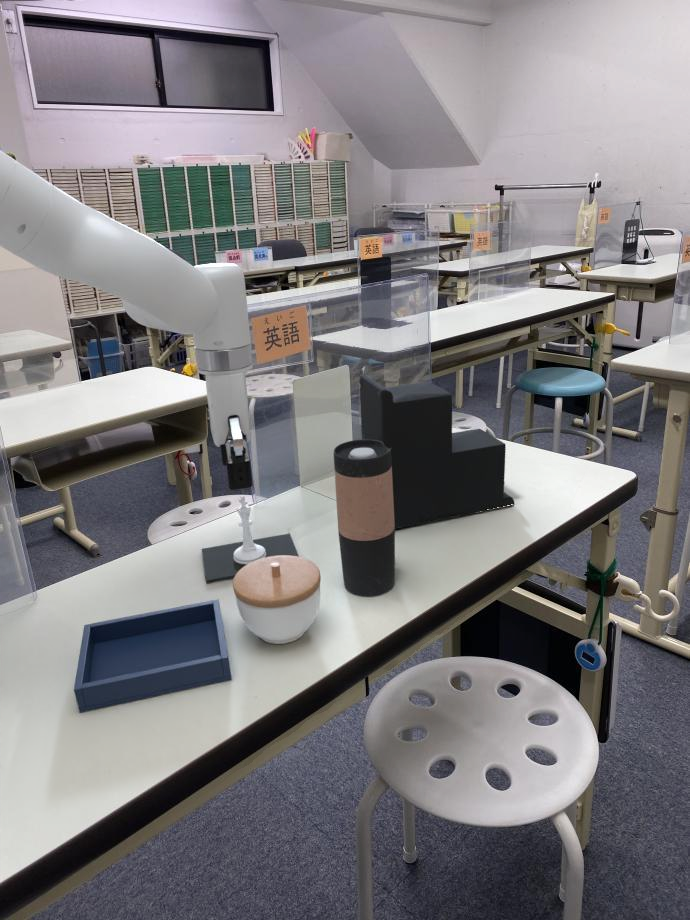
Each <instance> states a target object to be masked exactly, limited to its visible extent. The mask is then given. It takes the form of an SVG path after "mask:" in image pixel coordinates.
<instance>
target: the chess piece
mask: <svg viewBox="0 0 690 920" xmlns="http://www.w3.org/2000/svg"><path fill="white" fill-rule="evenodd" d="M238 503H240V505H239V506H238V507H237V509H236V511H237V513H238V515H239V517H240V519H241V520H239V522H238V526H239V527H241V528H242V542H243V545H242V546H241V547H239V548H238V549H236V550H235V552H234V560H235V561H236V562H237V563H240V564H249V563H251V562H253V561H256V560H259V559H262V558H265V556H266V552H265V548H264V547H262V546H260V545H256V544H254V542H253V540H254V539H253V535H252V532H251V527H250V526H252V525H253V524H254V522H253V519H251V518H250V513H251V511H252V508H251V506H250V505H248V500H247V499H245V495H240V497H239V498H238Z"/></svg>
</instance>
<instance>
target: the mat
mask: <svg viewBox="0 0 690 920" xmlns="http://www.w3.org/2000/svg"><path fill="white" fill-rule="evenodd" d="M253 542H254V544H256V545H260V546H262V547H264V548H265V552H266V556H265V557H270V556H278V555H291V556H298V557H300V556H299V553H298V550H297V549H296V546H295V543H294V541H293V539H292V536H291V534H290V533H283V534H278V535H272V536H267V537H261V538H255V539H253ZM242 545H243V541H238V542H233V543H232V542H231V543H227V544H226V543H225V544H221V545H216V546H210V547H204V548H203V547H202V548H201V556H202V561H203V569H204V576H205V582H206V584H210V583H217V582H222V581H226V580H228V581H229V580H233V579H234V577H235V575H236V574H237V572H238V571H239V570H240V569H242V568H243V567H244V566H246V565H247V564H240V563H237V562H236V561H235V560H234V552H235V550H236V549H238V548H239V547H241V546H242Z"/></svg>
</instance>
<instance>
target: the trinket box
mask: <svg viewBox="0 0 690 920" xmlns="http://www.w3.org/2000/svg"><path fill="white" fill-rule="evenodd" d="M321 579H322V577H321V571H320V569H319V567H318V566H317V565H316V564H315V562H313V561H312V560H309V559H308V558H305V557H302V556H299V557H298V556H291V555H278V556H270V557H265V558H262V559H259V560H256V561H253V562H251V563H249V564H247V565H246V566H244V567H243V568H242V569H240V570H239V571H238V572H237V574H236V575H235V577H234V578H233V579H232V589H233V593H234V597H235V603H236V607H237V610H238V613H239V616H240V618H241V620H242V622H243V624H244V625H245V627H246V628H247V629H248V630H249V631H250V632H251V633H253V634H254V635H255V636H257V637H258V638H260V639H261V640H262V641H264V642H266V643H269V644H274V645H284V644H289V643H293V642H295V641H297V640H298V639H300V638H301V637H303V635H304V634H305V633H306V631H308V630H309V628H310V627H311V626H312V624H313V623H314V622H315V620H316V619H317V616H318V613H319V610H320V605H321V596H322V595H321V594H322V591H321Z"/></svg>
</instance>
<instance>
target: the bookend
mask: <svg viewBox="0 0 690 920" xmlns="http://www.w3.org/2000/svg"><path fill="white" fill-rule="evenodd" d="M358 377H359V379H358V382H359V385H360V386H359V401H360V404H359V405H360V426H361V440H363V439H369V440H378V441H381V442H383V444H384V445H385V446H386V447H387V448H388V449H390V448H391V461H392V481H393V502H394V523H395V530H396V529H400V528H405V527H406V528H407V527H410V526H416V525H420V524H421V525H422V524H427V523H431V522H436V521H437V522H438V521H441V520H447V519H451V518H452V519H453V518H457V517H462V516H468V515H472V514H477V513H476V512H478V513H481V512H480V511H483V512H486V511H485V510H487V509H493V508H497V507H503V506H507V505H511V504H514V505H515V500H514V498H513V496H511V495H510V494H508V493H507V492H505V475H506V474H505V473H506V449H507V448H506V443H505V442H503V441H501V440H500V439H499V438H496V437H495V436H493V435H491V434H490V433H488V432H486V431H484V430H483V429H481V428H475V429H469V430H468V429H467V430H463V431H462V430H461V431H455V432H453V394H452V393H450V392H449V391H447V390H445V389H444V388H442V387H440V386H438V385H436V384H435V383H433V382H432V381H420V382H414V383H407V384H401V385H393V386H385V387H384V386H383V385H382V384H380V383H379V382H377V381H376V380H374V379H373V378H371V377H370V376H368V375H366V374H364V373H363V374H362V373H361V374H359V375H358ZM503 508H504V507H503ZM493 510H494V509H493ZM471 513H472V514H471ZM467 514H468V515H467Z"/></svg>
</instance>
